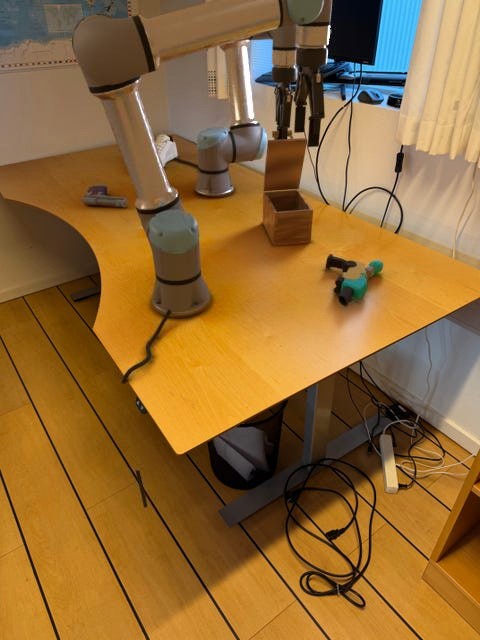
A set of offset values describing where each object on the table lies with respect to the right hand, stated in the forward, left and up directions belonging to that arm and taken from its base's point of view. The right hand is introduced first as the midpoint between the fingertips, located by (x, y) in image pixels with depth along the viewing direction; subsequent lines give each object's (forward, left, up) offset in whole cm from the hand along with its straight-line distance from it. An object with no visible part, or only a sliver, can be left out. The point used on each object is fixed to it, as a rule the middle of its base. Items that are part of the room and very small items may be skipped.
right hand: (281, 148), depth 153 cm
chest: (+9, -4, -25) cm, 27 cm away
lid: (+4, -2, -4) cm, 7 cm away
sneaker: (-80, -8, -25) cm, 84 cm away
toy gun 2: (+45, -11, -25) cm, 53 cm away
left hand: (+25, -11, +10) cm, 29 cm away
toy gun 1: (-51, -43, -25) cm, 71 cm away
